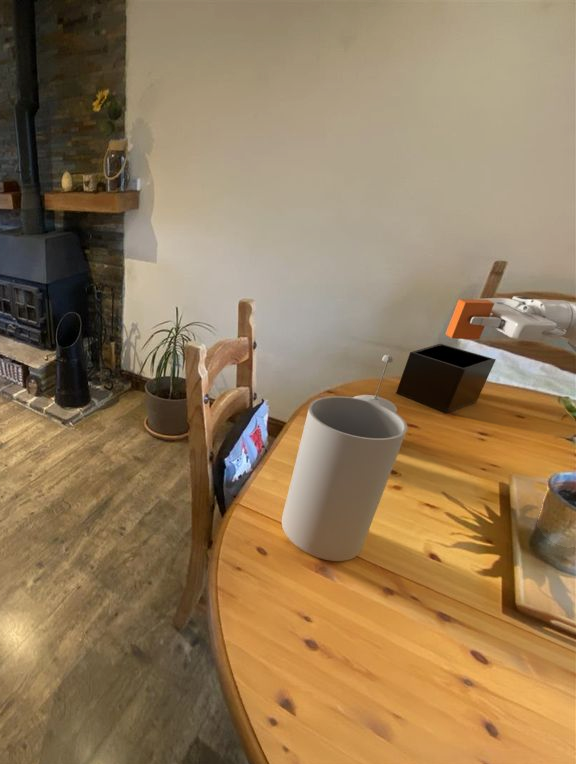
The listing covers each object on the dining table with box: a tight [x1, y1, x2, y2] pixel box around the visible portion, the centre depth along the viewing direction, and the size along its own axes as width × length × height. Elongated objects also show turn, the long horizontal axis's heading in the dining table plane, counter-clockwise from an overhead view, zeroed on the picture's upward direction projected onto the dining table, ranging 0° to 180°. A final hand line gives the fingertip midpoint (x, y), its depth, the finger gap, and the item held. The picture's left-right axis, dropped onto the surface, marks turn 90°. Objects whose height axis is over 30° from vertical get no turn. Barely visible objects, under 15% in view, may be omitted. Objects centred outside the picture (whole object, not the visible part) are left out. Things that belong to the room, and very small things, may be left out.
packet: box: [445, 298, 494, 340], centre depth 100 cm, size 6×3×9 cm, turn 73°
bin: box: [395, 343, 497, 415], centre depth 110 cm, size 12×12×13 cm
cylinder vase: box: [281, 395, 408, 562], centre depth 69 cm, size 12×12×25 cm
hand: (465, 317), depth 100 cm, fingers closed on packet, 3 cm apart
